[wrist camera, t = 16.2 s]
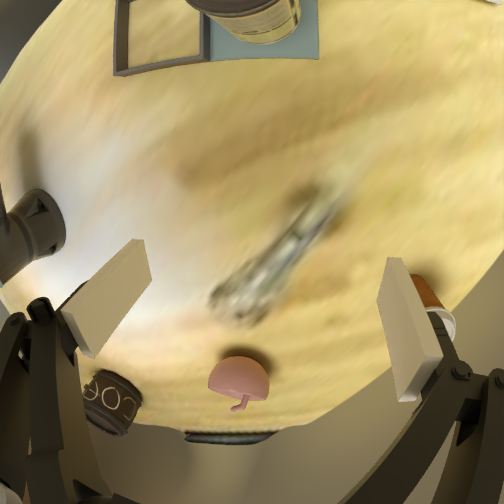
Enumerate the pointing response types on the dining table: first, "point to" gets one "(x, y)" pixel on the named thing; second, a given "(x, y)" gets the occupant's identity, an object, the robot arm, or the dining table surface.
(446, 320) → the disposable coffee cup
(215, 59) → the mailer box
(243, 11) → the coffee can
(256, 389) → the pink apple
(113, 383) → the coffee canister
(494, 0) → the salad plate
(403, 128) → the dining table surface
